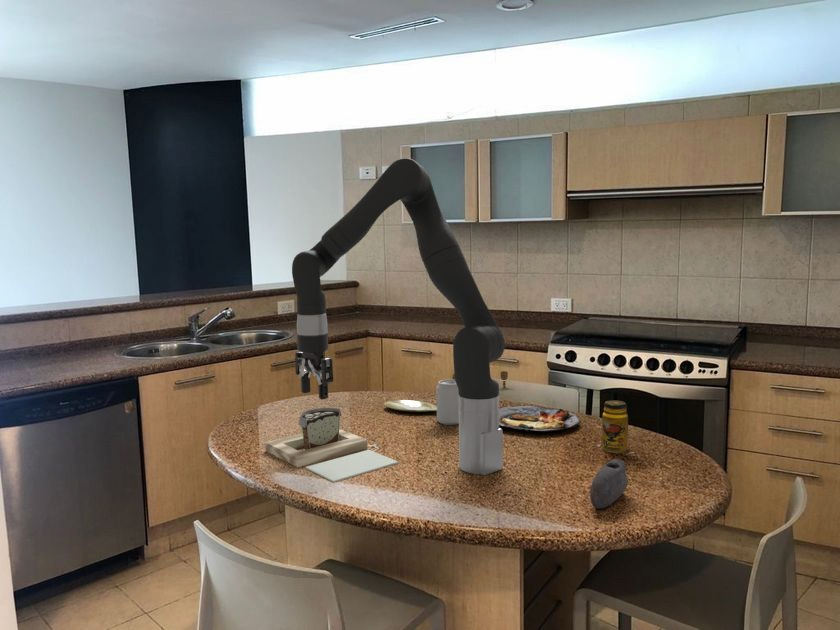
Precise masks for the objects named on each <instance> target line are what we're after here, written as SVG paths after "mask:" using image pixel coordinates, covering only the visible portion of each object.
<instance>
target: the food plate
mask: <svg viewBox="0 0 840 630" xmlns="http://www.w3.org/2000/svg"><path fill="white" fill-rule="evenodd" d="M536 416H537V417H536ZM580 422H581V419H580V418H579V416H578V415H577V414H575V413H573V412H570V411H568V410H564V409H562V408H559V409H558V408H553V407H552V408H551V407H545V406H534V405H520V406H517V405H516V406H508V407H507V406H506V407H502V408H499V426H502V427H506V428H510V429H514V430H525V431H526V432H528V431H529V430H530V431H536V432H556V431H564V430H566V429H567V430H568V429H571V428H573V427H575V426H577V425H578V424H580Z"/></svg>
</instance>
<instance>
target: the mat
mask: <svg viewBox="0 0 840 630" xmlns="http://www.w3.org/2000/svg"><path fill="white" fill-rule="evenodd" d="M397 464H399V461H397V460H395V459H393V458H390V457H387V456H385V455H383V454H380V453H378V452H375V451H373V450H370V449H365V450H361V451H357V452H356V453H355V452H354V453H350V454H346V455H343V456H339V457H335V458H334V459H333V458H332V459H328V460H324V461H321V462H317V463H313V464H310V465H306V466H305V469H306V470H307V471H310V472H312V473H314V474H316V475H318V476H320V477H322V478H323V479H326V480H327V481H330V482H332V483H337V482H340V481H343V480H348V479H350V478H354V477H357V476H360V475H364V474H366V473H367V474H368V473H370V472H374V471H377V470H381V469H383V468H387V467H390V466H394V465H397Z"/></svg>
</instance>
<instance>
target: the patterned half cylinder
mask: <svg viewBox="0 0 840 630" xmlns="http://www.w3.org/2000/svg"><path fill="white" fill-rule="evenodd" d="M342 415H343V414H342V411H341V408H338V407H318V408H313V409H307V410H305V411H303V412H301V414H300V416H299V420H298V425H299V426H300V427H301V431H302V433H303V439H304V446H305V447H304V450H307V449H311V448H315V447H319V446H322V445H326V444H330V443H334V442H338V441H339V429H340V423H341V422H340V420H341V417H342Z"/></svg>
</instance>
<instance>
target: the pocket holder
mask: <svg viewBox="0 0 840 630" xmlns="http://www.w3.org/2000/svg"><path fill="white" fill-rule="evenodd" d="M301 448H305V446H304V439H303V432H302V433H299V434H295V435H290V436H285V437H282V438H277V439H274V440H269V441H265V452H266V453H268V454H270V453H271V455H272V454H273V455H272V456H274V455H275V456H274V457H277V458H278V459H280V460H282V461H285V462H286V463H289V464H291V466H295V467H297V468H301V467H303V466H309V465H313V464H317V463H320V462H324V461H328V460H331V459H333V458H334V459H335V458H339V457H342V456H346V455H350V454H354V453H355V452H356V453H357V452H361V451H365V450H368V439H366V438H364V437H361V436H359V435H356V434H354V433H351V432H348V431H346V430H343V429H340V428H339V441H338V442H334V443H330V444H326V445H322V446H319V447H315V448H311V449H307V450H305V449H304V450H298V449H301Z"/></svg>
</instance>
